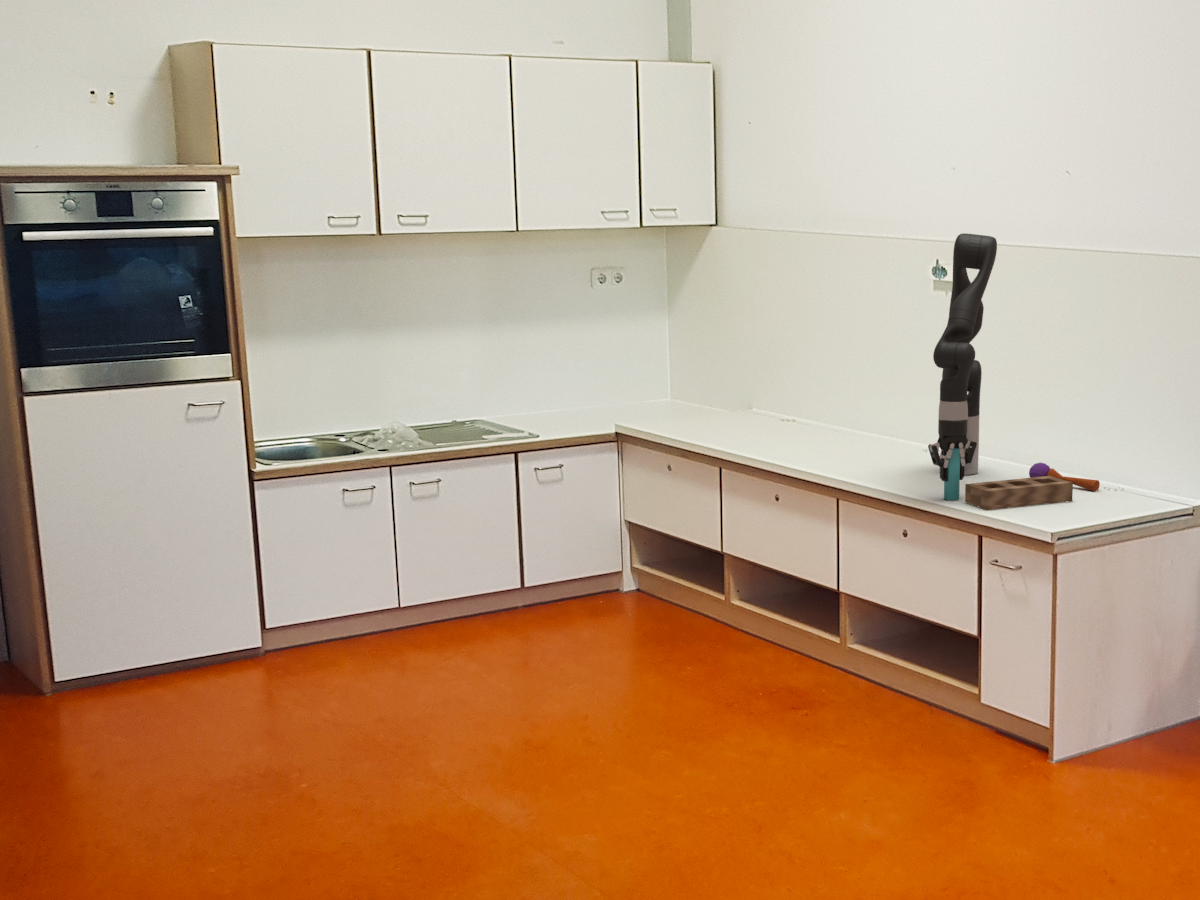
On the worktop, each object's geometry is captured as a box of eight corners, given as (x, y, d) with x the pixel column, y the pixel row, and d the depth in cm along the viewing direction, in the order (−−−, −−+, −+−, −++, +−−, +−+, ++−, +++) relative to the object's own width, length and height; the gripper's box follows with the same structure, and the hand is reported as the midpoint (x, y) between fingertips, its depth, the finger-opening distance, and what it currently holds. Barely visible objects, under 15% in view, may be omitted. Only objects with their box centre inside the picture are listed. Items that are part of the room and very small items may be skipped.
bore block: (986, 510, 346) (986, 491, 345) (965, 502, 355) (965, 484, 354) (1072, 501, 353) (1072, 482, 352) (1049, 493, 363) (1049, 475, 362)
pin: (940, 498, 361) (942, 447, 358) (954, 496, 362) (955, 446, 360) (948, 501, 357) (950, 449, 355) (962, 499, 358) (963, 448, 356)
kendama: (1090, 479, 361) (1025, 464, 376) (1090, 499, 364) (1025, 484, 378) (1102, 472, 365) (1036, 458, 380) (1101, 492, 367) (1036, 477, 382)
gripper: (968, 413, 361) (967, 475, 364) (922, 417, 357) (921, 480, 360) (984, 417, 354) (982, 480, 357) (937, 421, 350) (935, 485, 353)
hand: (951, 479), depth 359 cm, fingers closed on pin, 4 cm apart
